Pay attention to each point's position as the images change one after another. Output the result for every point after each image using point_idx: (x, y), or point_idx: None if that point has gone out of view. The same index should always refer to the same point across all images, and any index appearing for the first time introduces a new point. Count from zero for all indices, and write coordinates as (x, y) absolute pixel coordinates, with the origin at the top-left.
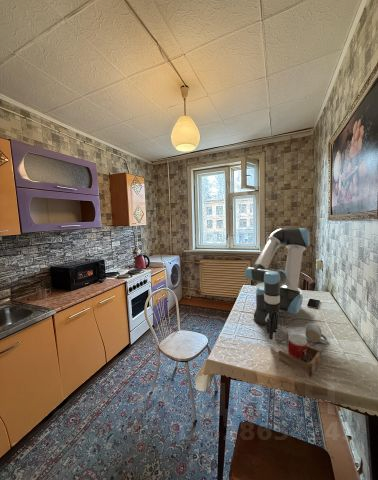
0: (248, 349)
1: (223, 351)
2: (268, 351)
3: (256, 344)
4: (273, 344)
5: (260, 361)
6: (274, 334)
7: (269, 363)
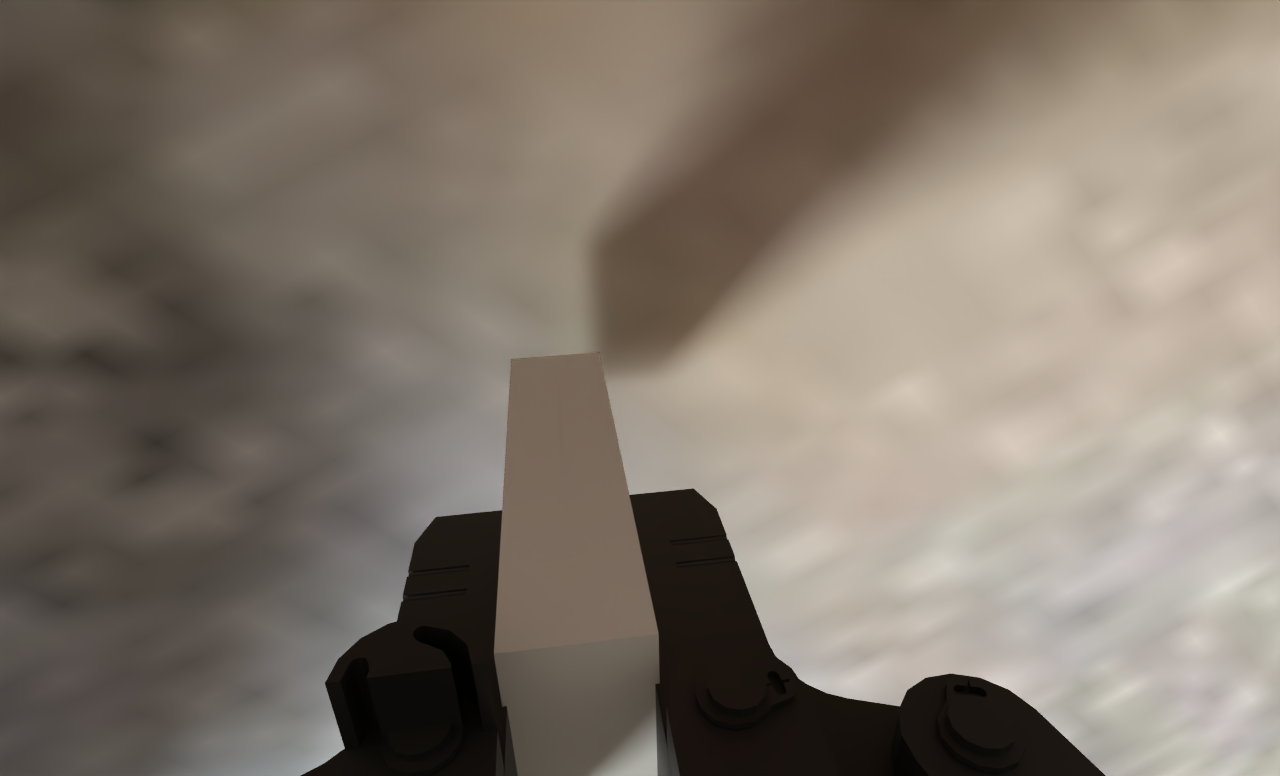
0: (968, 615)
1: (1227, 772)
2: (770, 347)
3: None
4: (602, 374)
5: (1206, 282)
6: (563, 597)
7: (1183, 103)
